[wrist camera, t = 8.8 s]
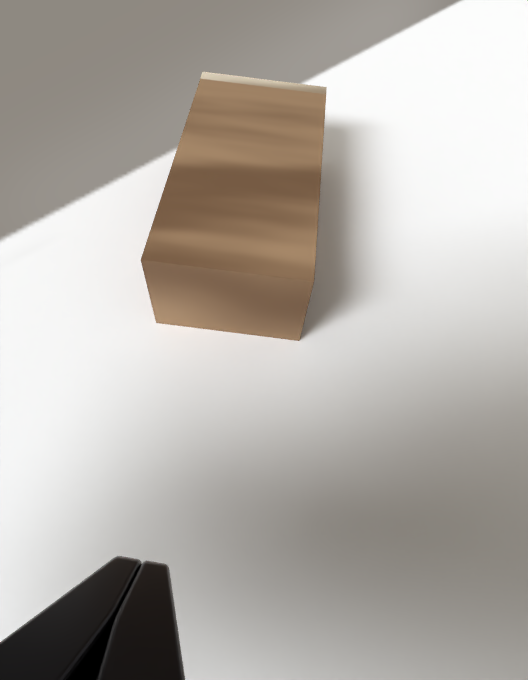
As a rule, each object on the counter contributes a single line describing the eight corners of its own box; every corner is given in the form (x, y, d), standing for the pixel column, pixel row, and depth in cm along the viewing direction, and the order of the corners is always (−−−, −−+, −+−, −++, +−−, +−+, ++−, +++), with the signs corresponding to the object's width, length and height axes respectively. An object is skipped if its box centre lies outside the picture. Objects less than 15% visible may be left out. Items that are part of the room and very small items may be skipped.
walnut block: (314, 281, 16) (326, 87, 22) (140, 259, 16) (202, 71, 22) (298, 341, 19) (313, 158, 25) (156, 323, 19) (206, 145, 25)
